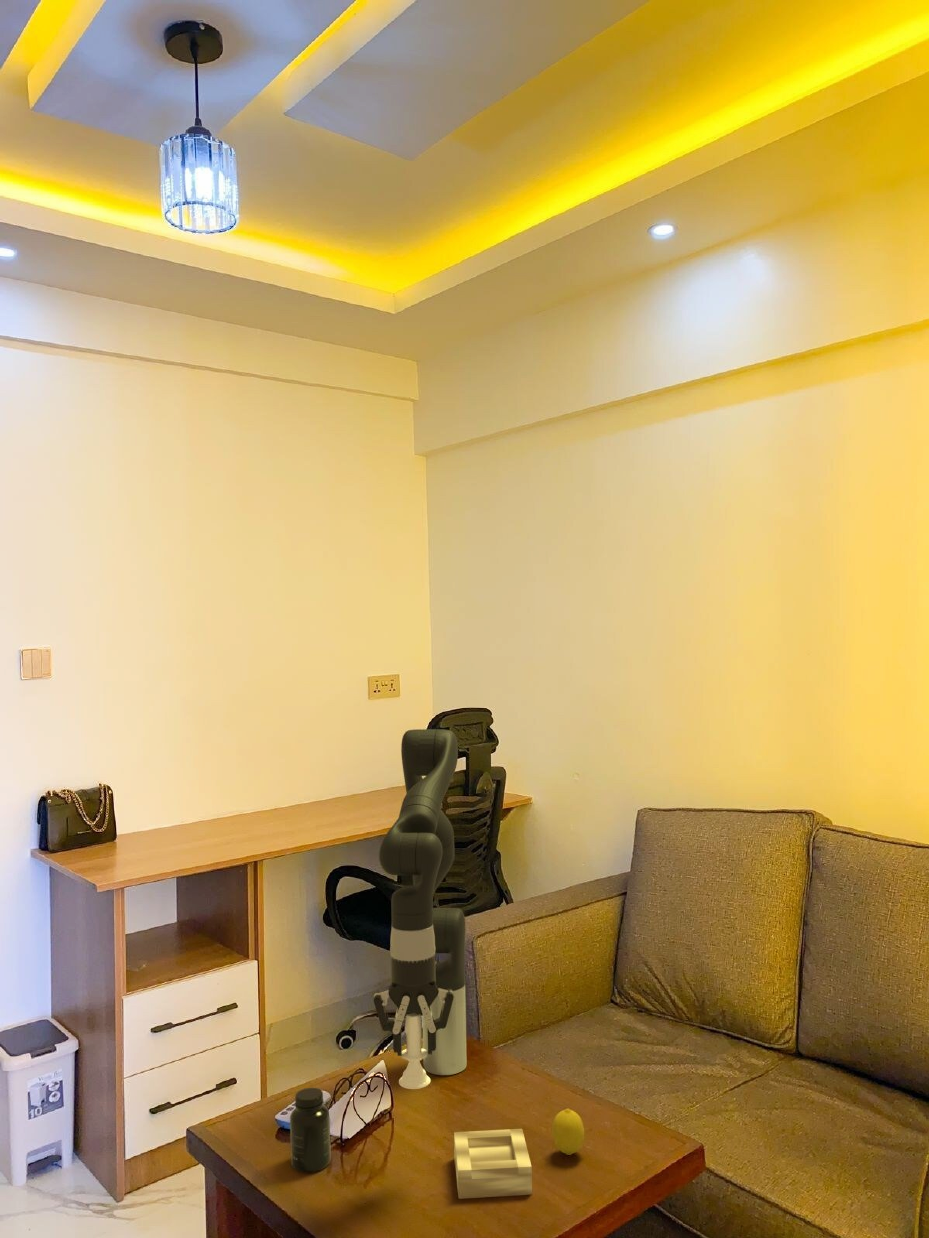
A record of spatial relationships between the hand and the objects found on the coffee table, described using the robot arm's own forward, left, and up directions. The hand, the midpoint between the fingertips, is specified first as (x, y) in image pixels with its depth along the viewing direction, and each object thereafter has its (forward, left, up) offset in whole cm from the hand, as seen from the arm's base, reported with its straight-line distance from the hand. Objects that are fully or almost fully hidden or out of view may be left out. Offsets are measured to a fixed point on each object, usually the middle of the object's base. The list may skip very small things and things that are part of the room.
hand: (414, 1052), depth 159 cm
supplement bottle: (-7, -18, -21) cm, 29 cm away
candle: (0, 0, -5) cm, 5 cm away
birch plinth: (0, +13, -21) cm, 25 cm away
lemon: (-5, +27, -21) cm, 34 cm away
